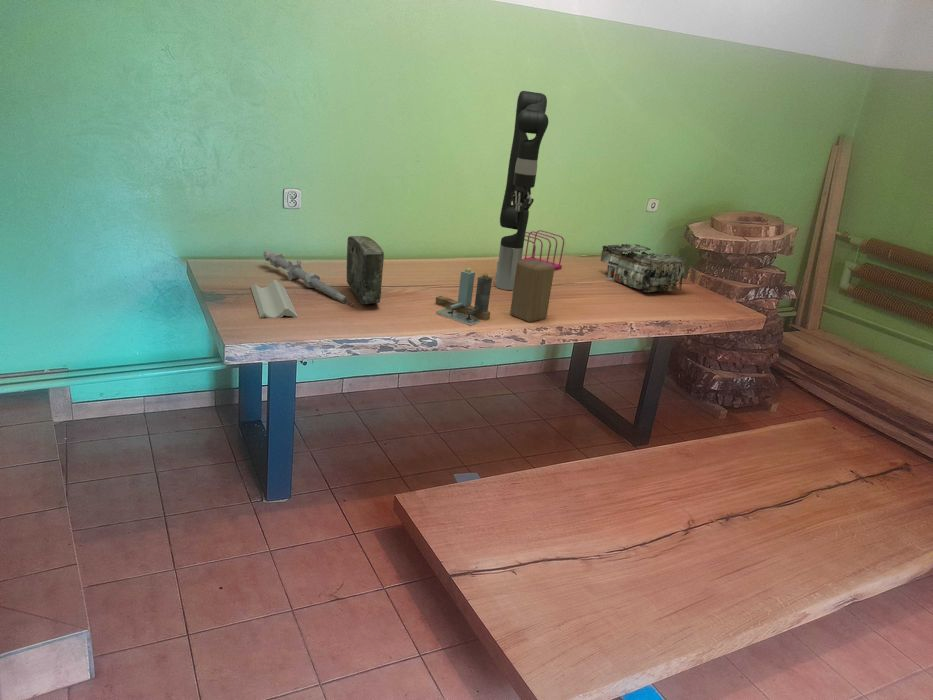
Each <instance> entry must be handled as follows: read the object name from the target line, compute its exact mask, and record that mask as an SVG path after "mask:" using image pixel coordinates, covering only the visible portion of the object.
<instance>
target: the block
mask: <svg viewBox="0 0 933 700" xmlns="http://www.w3.org/2000/svg"><path fill="white" fill-rule="evenodd" d="M554 274H555V270H554V266H553V265H551V264H548V263H545V262H542V261H539V260H536V259H533V260H526V261H519V262H518V263H517V267H516V274H515V281H514V288H513V290H512V297H511V304H510V311H509V312H510V315H511V316H513V317H516V318H518V319H521V320H523V321H525V322H528V323H533V322H537V321H540V320H545V319H546V318H547V317H548V310H549V306H550V305H549V304H550V298H551V293H552V292H551V291H552V286H553V280H554Z"/></svg>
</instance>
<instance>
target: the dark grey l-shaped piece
mask: <svg viewBox="0 0 933 700" xmlns="http://www.w3.org/2000/svg"><path fill="white" fill-rule="evenodd" d="M492 282H493V278H492V277H490V276H489V274H488V273H486V272H485V273H482V275H481V276H478V277H477V283H476V291H475V292H476V293H475V300H474V305H472V304H471V305H469V306H466V307H465V306H459V307H456V308H454V309H453V310H454V311H457V312H458V311H459V312H460V313H461V312H462V313H463V314H464V313H465V314H466V315H467V314H468V318H470V315H471V317H473V316H474V318H476V317H477V319H480V320H481V321H482V320H483V321H486V320H489V319H490V318H491V311H489V305H490V298H491V297H490V296H491V289H492ZM454 304H458V300H455V299H454V298H453V299H451V298H449V297H446V296H443V295H440V296H439V295H438V296H436V297H435V305H438V306H441V307H444V308H448V309H452V308H450V306H451V305H454Z"/></svg>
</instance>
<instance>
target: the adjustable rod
mask: <svg viewBox="0 0 933 700" xmlns="http://www.w3.org/2000/svg"><path fill="white" fill-rule="evenodd" d="M262 254H263V255H262V256H263V257H264V260H265V261H266V262H269V263H270V266H272V267H275V268H276V269H279V268H282V269H283V272H285V273H287V280H288V281H292V280H293V279H298V280H300V279H301V280H303V281H302V282H303V284H304V285H305V286H306V287H307V288H311V289H317V290H319V291H321V292H322V293H323V294H325V295H327V296H329V297H331V298H332V299H333V300H337V301H339V302H341V303H342V304H345V303H347V304H349V305H351V307H352V308H353V307H355V303H354V302H353V303H352V301H351V302H350V301H349V300H348V299H347V297H346V296H345V295H344V294H342V293H341V292H340V291H339V290H337V289H335V288H333V286H330V285H328V284H326V283H325V282H323V281H322V280H321V278H320V277H321V276H319V275H318V274H317V273H315V272H309V273H308V272H306V271H305V270H306V268H302V266H301V264H302V261H301V259H297V260H296V262H295V261H293V262H292V261H290V260H286V258H285V257H284V255H283V254H282V253H280V252H272V251H270V249H267V250H266V249H265V250H264V251H263V253H262Z"/></svg>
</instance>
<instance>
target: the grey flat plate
mask: <svg viewBox="0 0 933 700" xmlns="http://www.w3.org/2000/svg"><path fill="white" fill-rule="evenodd" d="M435 314H436V315H439V316H442V317H445V318H448V319H450V320H454V321H457V322H459V323H461V324H466V325H467V326H468V325H469V326H473V325H477V324H478V323H481V322H482V319H479V318H476V317H473V316H470V318H468V315H467V314H464V313H461V312H458V311H455V310H453V312H451V309H449V308H447V307H444V308H441V309H438V310H437V311H435Z"/></svg>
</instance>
